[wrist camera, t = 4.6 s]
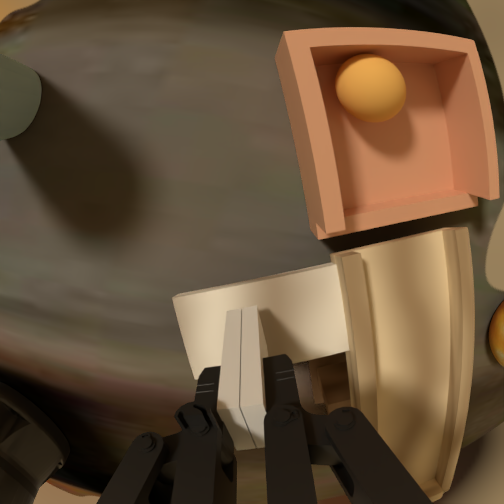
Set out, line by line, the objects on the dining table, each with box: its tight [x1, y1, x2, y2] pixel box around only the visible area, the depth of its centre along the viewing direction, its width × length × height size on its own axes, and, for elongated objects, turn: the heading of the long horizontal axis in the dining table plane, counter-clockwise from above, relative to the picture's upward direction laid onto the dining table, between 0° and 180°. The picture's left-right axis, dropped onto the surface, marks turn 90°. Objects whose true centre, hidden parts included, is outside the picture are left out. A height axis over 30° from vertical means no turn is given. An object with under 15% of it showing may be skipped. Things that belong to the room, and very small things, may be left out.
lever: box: [172, 227, 475, 502], centre depth 16 cm, size 17×22×3 cm
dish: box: [275, 27, 499, 240], centre depth 15 cm, size 12×11×4 cm
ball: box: [335, 54, 406, 123], centre depth 14 cm, size 4×4×4 cm
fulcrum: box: [308, 352, 351, 415], centre depth 20 cm, size 12×7×5 cm, turn 102°
